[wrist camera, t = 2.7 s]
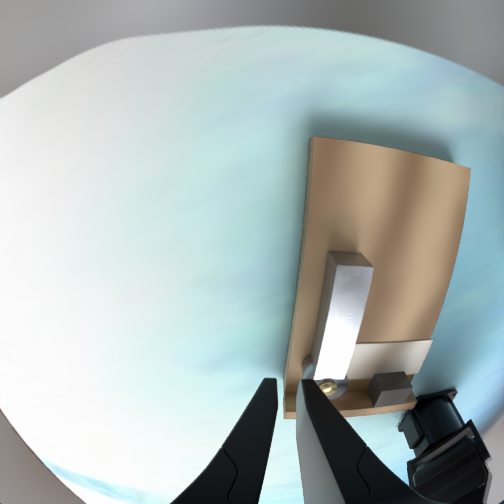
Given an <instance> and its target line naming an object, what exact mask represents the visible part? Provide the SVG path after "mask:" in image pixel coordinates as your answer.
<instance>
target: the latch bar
mask: <svg viewBox="0 0 504 504" xmlns="http://www.w3.org/2000/svg"><path fill="white" fill-rule="evenodd" d="M373 270H374V267H373V265H372V264H371V263H370V262H369V261H368V260H367V259H366V258H365V256H364V255H363V254H362V253H360V252H345V251H330V250H328V255H327V262H326V269H325V276H324V282H323V289H322V295H321V301H320V306H319V312H318V318H317V323H316V328H315V334H314V339H313V344H312V349H311V353H310V354H309V355H308V356H307V357H306V358H305V359H304V360H303V362H302V366H301V368H302V376H303V379H313V380H314V381H315V382H316V383H317V385H318V386H319V387H320V388H321V390H322V391H323V392H324V393H325V395H326V396H327V397H328V398H329V400H333V399H335V398H337V397H339V396H341V395H342V394H343V393H344V392H345V391H346V389H347V388H348V385H349V381H348V377H347V374H346V372H347V369H348V366H349V363H350V360H351V356H352V353H353V350H354V346H355V343H356V340H357V336H358V333H359V329H360V325H361V321H362V318H363V314H364V310H365V306H366V302H367V297H368V293H369V289H370V284H371V280H372V275H373Z"/></svg>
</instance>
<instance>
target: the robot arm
mask: <svg viewBox="0 0 504 504" xmlns="http://www.w3.org/2000/svg"><path fill="white" fill-rule="evenodd" d="M456 394H457V390H456V389H454V390H450V391H445V392H441V393H436V394H431V395H426V396H420V397H418V398H417V399H416V400H417V403H416V405H415V406H414V408H413V409H410V410H409V412H408V413H407V415H406V417H405V418H404V420H403V421H402V423H401V425H400V426H399V428H398V431H399V432H404V434H405V437H406V440H407V442H408V445H409V448H410V449H413V450H414V453H415V456H416V458H414V459H412V460H409V461H408V462H407V473H408V479H409V486H410V487H409V486H408V485H407V484H406V483H405V482H404V481H402V480H401V479H400V478H399V477H398V476H397V475H395V474H394V473H393V472H392V471H391V470H390V469H389V468H388V467H387V466H386V465H385V464H383V462H382V461H381V460H380V459H379V458H378V457H377V456H376V455H375V454H374V453H373V451H372V450H371V449H370V448H369V447H368V446H367V444H366V443H365V442H364V441H363V440H362V439H361V437H360V436H359V435H358V434H357V433H356V431H355V430H354V429H353V428H352V427H351V425H350V424H349V423H348V422H347V420H346V419H345V418H344V417H343V416H342V414H341V413H340V412H339V411H338V409H337V408H336V407H335V406H334V405H333V403H332V402H331V401H330V400H329V398H328V397H327V396H326V395H325V393H324V392H323V391H322V390H321V388H320V387H319V386H318V385H317V383H316V382H315V381H314V380H313V379H301V380H300V382H299V387H298V391H297V396H296V440H297V449H298V456H299V464H300V472H301V480H302V488H303V496H304V504H487V503H486V501H487V497H488V493H489V489H490V485H491V480H492V474H491V472H490V469H489V467H488V465H487V462H489V461H490V460H492V458H491V456H490V454H489V452H488V450H487V447H486V446H485V443H484V441H483V440H482V438H481V436H480V434H479V432H478V430H477V428H476V427H475V425H474V423H473V422H472V420H471V419H470V420H469V421H468V422H467V423H466V424H465V423H464V421H463V419H462V417H461V416H460V414H459V412H458V410H457V408H456V407H455V405H454V403H453V399H454V398H455V396H456ZM277 410H278V392H277V379H276V378H264V379H263V380H262V382H261V384H260V386H259V387H258V389H257V391H256V392H255V394H254V396H253V397H252V399H251V401H250V402H249V404H248V406H247V407H246V409H245V410H244V412H243V414H242V415H241V417H240V418H239V420H238V422H237V423H236V425H235V426H234V428H233V429H232V431H231V433H230V434H229V436H228V437H227V439H226V440H225V442H224V443H223V445H222V446H221V448H220V449H219V450H218V452H217V453H216V455H215V456H214V458H213V459H212V460H211V462H210V463H209V464H208V466H207V467H206V468H205V469H204V470H203V472H202V473H201V474H200V475H199V476H198V477H197V478H196V479H195V480H194V481H193V482H192V483H191V484H190V485H189V486H188V487H187V488H186V489H185V490H184V491H183V492H182V493H181V494H180V495H179V496H178V497H177V498H176V499H174V500H173V501H172V502H171V503H170V504H258V502H259V498H260V494H261V489H262V485H263V480H264V476H265V471H266V467H267V462H268V457H269V452H270V447H271V442H272V437H273V432H274V427H275V421H276V416H277ZM473 436H475V437H474V438H472V437H473ZM366 446H367V447H366ZM0 504H1V503H0ZM499 504H504V500H503V501H502V502H500V503H499Z"/></svg>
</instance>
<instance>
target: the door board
mask: <svg viewBox="0 0 504 504" xmlns="http://www.w3.org/2000/svg"><path fill="white" fill-rule="evenodd" d="M469 179H470V168H468V167H465V166H462V165H458V164H455V163H451V162H448V161H444V160H441V159H437V158H433V157H429V156H425V155H421V154H416V153H412V152H408V151H403V150H398V149H393V148H388V147H383V146H378V145H372V144H366V143H360V142H354V141H347V140H340V139H332V138H324V137H315V136H314V137H312V138H310V139H309V154H308V170H307V184H306V197H305V209H304V221H303V231H302V242H301V251H300V261H299V270H298V279H297V287H296V295H295V303H294V311H293V318H292V326H291V333H290V340H289V346H288V353H287V360H286V366H285V372H284V378H283V386H284V397H283V408H284V419H296V396H297V391H298V387H299V382H300V380H301V379H303V376H302V368H301V366H302V362H303V360H304V359H305V358H306V357H307V356H308V355H309V354H310V353H311V349H312V344H313V339H314V334H315V328H316V323H317V318H318V312H319V306H320V301H321V295H322V289H323V282H324V276H325V269H326V262H327V255H328V250H330V251H345V252H360V253H362V254H363V255H364V256H365V258H366V259H367V260H368V261H369V262H370V263H371V264H372V265H373V267H374V270H373V275H372V280H371V284H370V289H369V293H368V297H367V302H366V306H365V310H364V314H363V318H362V321H361V325H360V329H359V333H358V336H357V340H356V343H355V346H354V350H353V353H352V356H351V360H350V363H349V366H348V369H347V372H346V374H347V377H348V381H349V385H348V388H347V389H346V391H345V392H344V393H343V394H342V395H341V396H339V397H337V398H335V399H333V400H330V401H331V402H332V403H333V405H334V406H335V407H336V408H337V409H338V411H339V412H340V413H341V414H342V416H343V417H355V416H366V415H375V414H383V413H390V412H396V411H403V410H408V409H413V408H414V406H415V405H416V403H417V400H416V398H415V396H414V394H413V392H412V390H411V389H412V388H413V387H412V385H411V383H410V382H411V380H412V378H413V376H414V374H417V373H419V371H420V368H421V366H422V364H423V362H424V360H425V358H426V355H427V353H428V351H429V348H430V346H431V344H432V341H433V339H430V338H431V335H432V333H433V330H434V328H435V325H436V322H437V320H438V317H439V314H440V311H441V308H442V305H443V302H444V299H445V296H446V293H447V289H448V286H449V283H450V279H451V276H452V272H453V268H454V264H455V260H456V256H457V252H458V248H459V243H460V238H461V233H462V228H463V223H464V217H465V211H466V204H467V197H468V189H469Z"/></svg>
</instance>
